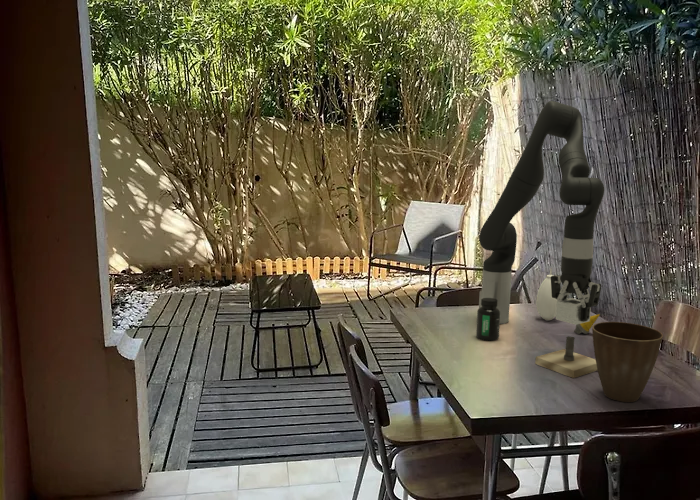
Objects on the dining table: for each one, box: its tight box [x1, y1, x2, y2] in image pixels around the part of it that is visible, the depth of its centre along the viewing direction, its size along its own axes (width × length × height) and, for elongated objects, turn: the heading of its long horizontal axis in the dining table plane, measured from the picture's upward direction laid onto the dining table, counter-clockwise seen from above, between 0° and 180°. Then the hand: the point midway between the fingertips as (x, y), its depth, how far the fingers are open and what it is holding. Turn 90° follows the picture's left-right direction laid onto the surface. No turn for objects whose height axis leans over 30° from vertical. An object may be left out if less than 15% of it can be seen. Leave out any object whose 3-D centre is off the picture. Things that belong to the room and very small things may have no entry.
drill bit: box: [573, 313, 601, 335], centre depth 191 cm, size 5×5×10 cm
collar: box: [555, 297, 592, 326], centre depth 160 cm, size 6×6×5 cm
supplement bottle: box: [475, 298, 501, 342], centre depth 185 cm, size 7×7×12 cm
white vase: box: [535, 268, 557, 321], centre depth 204 cm, size 8×8×18 cm
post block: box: [534, 336, 598, 379], centre depth 162 cm, size 12×12×8 cm
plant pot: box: [591, 321, 664, 403], centre depth 142 cm, size 15×15×16 cm
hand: (572, 317), depth 160 cm, fingers closed on collar, 6 cm apart
